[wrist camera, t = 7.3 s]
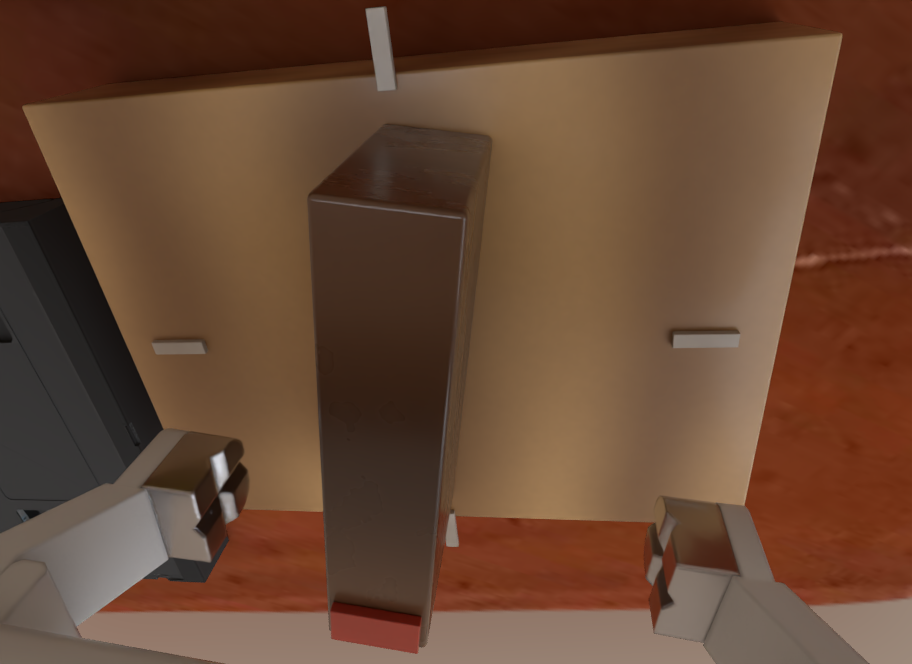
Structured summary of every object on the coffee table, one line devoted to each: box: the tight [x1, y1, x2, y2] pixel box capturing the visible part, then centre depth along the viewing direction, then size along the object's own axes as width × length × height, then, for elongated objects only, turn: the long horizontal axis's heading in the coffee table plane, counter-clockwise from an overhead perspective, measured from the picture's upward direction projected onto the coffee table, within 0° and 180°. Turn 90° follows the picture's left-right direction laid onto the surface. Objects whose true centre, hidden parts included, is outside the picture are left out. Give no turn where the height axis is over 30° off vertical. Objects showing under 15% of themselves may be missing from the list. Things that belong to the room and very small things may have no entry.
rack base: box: [22, 6, 842, 547], centre depth 15 cm, size 16×14×3 cm
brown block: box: [307, 124, 492, 654], centre depth 12 cm, size 10×2×5 cm, turn 175°
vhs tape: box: [0, 198, 229, 583], centre depth 20 cm, size 14×8×2 cm, turn 6°
